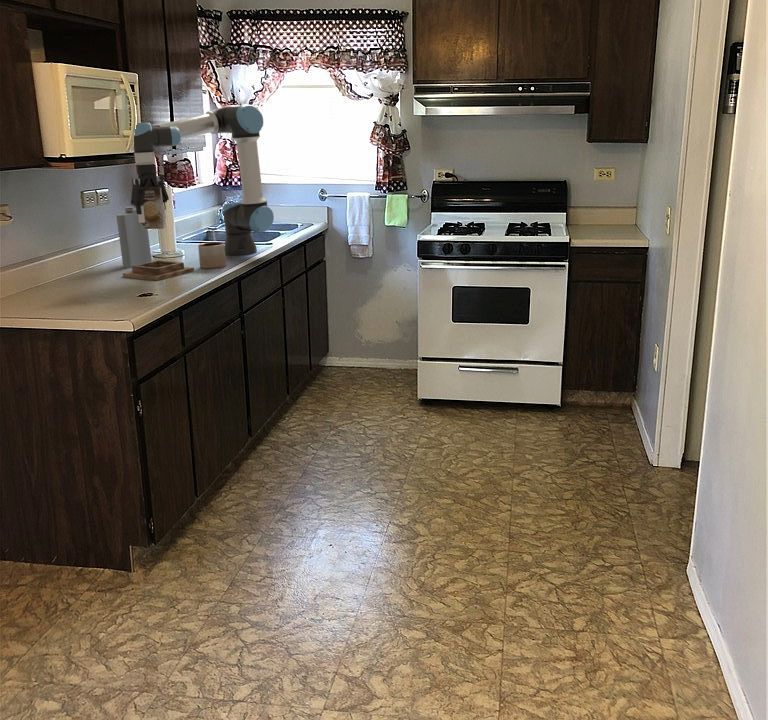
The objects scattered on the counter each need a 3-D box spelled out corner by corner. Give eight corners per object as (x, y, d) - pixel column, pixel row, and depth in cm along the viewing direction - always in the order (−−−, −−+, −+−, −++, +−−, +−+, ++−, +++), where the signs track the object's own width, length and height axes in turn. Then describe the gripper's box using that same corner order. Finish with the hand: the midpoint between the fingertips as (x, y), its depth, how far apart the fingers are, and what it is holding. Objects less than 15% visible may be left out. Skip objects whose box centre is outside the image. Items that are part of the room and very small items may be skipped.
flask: (144, 260, 359) (137, 204, 352) (153, 260, 358) (146, 204, 350) (120, 268, 344) (112, 209, 336) (129, 268, 342) (121, 209, 335)
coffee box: (140, 230, 318) (135, 188, 313) (142, 227, 324) (137, 187, 319) (164, 228, 319) (159, 187, 314) (166, 226, 325) (161, 186, 320)
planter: (220, 269, 332) (218, 246, 330) (195, 269, 335) (193, 246, 332) (230, 264, 343) (228, 241, 340) (206, 264, 345) (204, 242, 342)
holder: (160, 267, 340) (159, 258, 339) (194, 271, 330) (193, 261, 329) (122, 276, 324) (121, 267, 323) (157, 280, 314) (155, 270, 313)
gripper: (160, 161, 325) (167, 216, 332) (115, 165, 307) (123, 224, 313) (174, 161, 321) (180, 217, 328) (129, 166, 303) (136, 225, 309)
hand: (152, 220), depth 321 cm, fingers closed on coffee box, 10 cm apart
